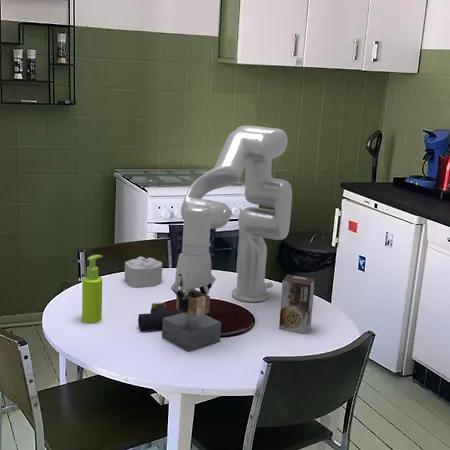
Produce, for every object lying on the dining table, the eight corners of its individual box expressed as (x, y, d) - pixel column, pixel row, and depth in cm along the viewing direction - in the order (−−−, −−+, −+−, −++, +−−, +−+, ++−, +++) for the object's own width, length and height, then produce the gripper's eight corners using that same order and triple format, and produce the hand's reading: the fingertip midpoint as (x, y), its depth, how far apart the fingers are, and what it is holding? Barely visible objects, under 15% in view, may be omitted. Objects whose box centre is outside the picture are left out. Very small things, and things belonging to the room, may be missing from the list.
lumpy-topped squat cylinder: (122, 279, 237) (122, 256, 235) (156, 276, 243) (157, 254, 241) (131, 289, 228) (131, 265, 226) (166, 285, 234) (167, 262, 232)
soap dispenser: (107, 317, 203) (108, 255, 198) (94, 324, 196) (94, 261, 191) (91, 313, 205) (92, 252, 200) (78, 320, 199) (78, 257, 194)
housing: (193, 327, 198) (195, 290, 196) (219, 341, 190) (222, 302, 187) (161, 337, 190) (163, 298, 188) (188, 352, 182) (190, 311, 179)
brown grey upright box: (311, 327, 205) (316, 278, 201) (306, 334, 199) (311, 284, 195) (282, 321, 208) (287, 273, 204) (277, 329, 202) (282, 279, 198)
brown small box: (192, 304, 193) (193, 288, 191) (209, 312, 188) (210, 296, 186) (175, 309, 188) (176, 293, 187) (191, 317, 183) (192, 300, 182)
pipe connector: (134, 302, 202) (181, 299, 207) (133, 318, 203) (180, 315, 208) (141, 317, 192) (191, 314, 196) (141, 334, 193) (190, 330, 198)
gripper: (209, 241, 192) (206, 298, 196) (162, 249, 180) (160, 310, 185) (227, 247, 187) (223, 306, 191) (180, 256, 175) (177, 319, 179)
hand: (192, 308), depth 188 cm, fingers closed on brown small box, 6 cm apart
